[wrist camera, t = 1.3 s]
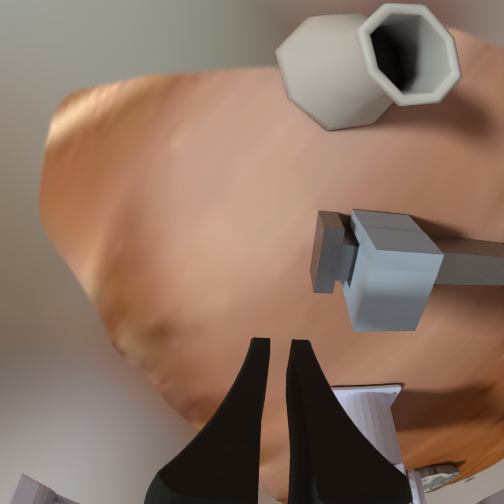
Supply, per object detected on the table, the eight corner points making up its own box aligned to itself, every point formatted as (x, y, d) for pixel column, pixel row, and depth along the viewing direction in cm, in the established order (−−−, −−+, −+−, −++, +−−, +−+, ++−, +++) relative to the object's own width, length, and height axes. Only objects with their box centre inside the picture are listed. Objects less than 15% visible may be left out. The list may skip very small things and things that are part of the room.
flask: (252, 47, 15) (228, -2, 6) (359, -4, 12) (434, -71, 4) (319, 151, 18) (364, 216, 9) (419, 99, 15) (531, 125, 7)
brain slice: (354, 496, 49) (355, 507, 46) (393, 468, 40) (395, 482, 38) (425, 485, 49) (427, 495, 47) (469, 454, 41) (472, 465, 38)
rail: (541, 290, 21) (568, 324, 16) (307, 286, 22) (314, 341, 17) (566, 229, 18) (600, 258, 13) (320, 191, 19) (337, 229, 14)
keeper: (391, 281, 21) (414, 330, 17) (339, 279, 21) (353, 331, 17) (408, 214, 19) (444, 254, 14) (352, 208, 19) (376, 250, 14)
